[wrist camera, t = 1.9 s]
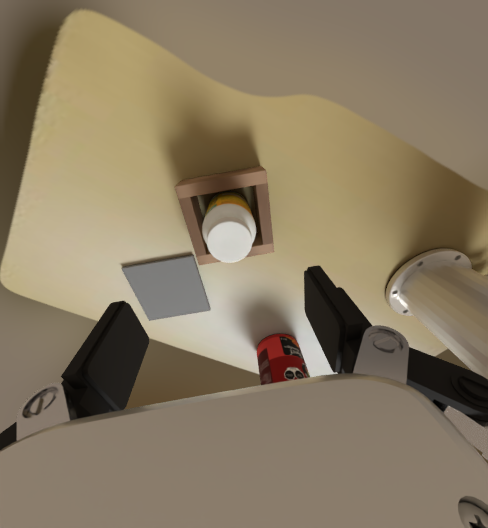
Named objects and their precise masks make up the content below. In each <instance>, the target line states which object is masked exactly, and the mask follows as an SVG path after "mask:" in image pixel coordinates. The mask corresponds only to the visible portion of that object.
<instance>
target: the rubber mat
mask: <svg viewBox="0 0 488 528" xmlns="http://www.w3.org/2000/svg"><path fill="white" fill-rule="evenodd" d="M122 271H123V272H124V274H125V276H126V278H127V280H128V282H129V284H130V286H131V287H132V289H133V291H134V293H135V295H136V297H137V299H138V301H139V302H140V304H141V306H142V308H143V310H144V312H145V314H146V315H147V317H148V319H149V321H150V320H156V319H162V318H168V317H174V316H180V315H186V314H192V313H198V312H204V311H210V306H209V302H208V299H207V296H206V293H205V290H204V287H203V284H202V280H201V277H200V274H199V271H198V268H197V265H196V262H195V258H194V255H189V256H183V257H177V258H171V259H165V260H160V261H154V262H148V263H142V264H137V265H131V266H125V267H122Z"/></svg>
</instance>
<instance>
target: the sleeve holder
mask: <svg viewBox="0 0 488 528" xmlns="http://www.w3.org/2000/svg"><path fill="white" fill-rule="evenodd" d="M248 186H253V191H254V199H255V206H256V214H257V222H258V229H259V232H258V233H256V236H255V239H254V242H253V243H252V247H251V250H250V252H249V253H248V254H247V256H246V257H250V256H255V255H261V254H267V253H273V252H274V245H273V235H272V224H271V214H270V204H269V193H268V183H267V173H266V170H265V169H264V168H263V167H261V166H258V167H253V168H247V169H242V170H236V171H230V172H225V173H219V174H214V175H208V176H203V177H197V178H192V179H186V180H182V181H181V182H180V183H178V184H177V185H176V186H175V189H176V193H177V196H178V199H179V202H180V205H181V209H182V212H183V215H184V218H185V221H186V225H187V228H188V231H189V234H190V238H191V241H192V244H193V247H194V250H195V254H196V257H197V260H198V263H199V265H203V264H209V263H215V262H220V260H218V259H216V258H215V257H213V256H212V254H211V253H210V252H209V250H208V247H207V244H206V242H205V240H204V238H203V233H202V226H203V221H204V220H203V217H202V213H201V209H200V205H199V202H198V198H197V195H203V194H209V193H214V192H220V191H225V190H231V189H236V188H242V187H248Z"/></svg>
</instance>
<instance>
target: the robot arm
mask: <svg viewBox="0 0 488 528" xmlns="http://www.w3.org/2000/svg"><path fill="white" fill-rule="evenodd" d="M304 294H305V313H306V316H307V318H308V320H309V322H310V324H311V326H312V328H313V331H314V333H315V335H316V337H317V339H318V341H319V343H320V345H321V347H322V350H323V352H324V354H325V356H326V358H327V360H328V362H329V364H330V366H331V369H332V370H333V372H334V373H335V372H337V373H338V374H332V375H322V376H316V377H309V378H303V379H296V380H290V381H284V382H278V383H272V384H266V385H260V386H255V387H249V388H243V389H237V390H232V391H226V392H220V393H214V394H208V395H204V396H197V397H192V398H186V399H181V400H175V401H169V402H164V403H158V404H153V405H147V406H142V407H137V408H131V409H125V410H124V408H125V407H126V405H127V402H128V400H129V397H130V394H131V391H132V388H133V386H134V383H135V380H136V377H137V374H138V372H139V369H140V366H141V363H142V361H143V358H144V355H145V352H146V349H147V347H148V344H149V337H148V335H147V333H146V332H145V330H144V328H143V327H142V325H141V323H140V321H139V320H138V318H137V316H136V315H135V313H134V311H133V309H132V308H131V306H130V304H129V303H126V302H125V301H119V302H113V303H111V304H110V305H109V306H108V308H107V309H106V311H105V312H104V314H103V315H102V317H101V318H100V320H99V321H98V323H97V324H96V326H95V327H94V329H93V330H92V331H91V333H90V335H89V336H88V338H87V339H86V340H85V342H84V343H83V345H82V346H81V348H80V349H79V351H78V352H77V354H76V355H75V357H74V358H73V360H72V361H71V362H70V364H69V365H68V367H67V368H66V370H65V372H64V373H63V374H62V376H61V377H62V378H63V379H64V380H63V382H62V383H61V384H60V383H52V384H49V385H46V386H44V387H42V388H41V389H39V390H38V391H36V392H35V393H34V394H32V395H31V396H30V397H29V398H28V399H27V400H26V401H25V403H24V404H23V405H22V406H21V408H20V410H19V412H18V414H17V422H15V423H14V424H13V425H11V426H10V427H9V428H7V429H6V430H5V431H3V432H2V433H1V434H0V528H488V464H487V463H486V461H485V460H484V459H483V458H482V456H483V457H484V458H486V459H487V460H488V275H482V274H480V273H478V272H476V271H474V270H473V269H472V265H471V261H470V260H469V258H468V257H467V256H466V255H464V254H463V253H461V252H458V251H456V250H453V249H435V250H431V251H428V252H425V253H422V254H420V255H418V256H416V257H414V258H413V259H411V260H409V261H408V262H407V263H405V264H404V265H403V266H402V267H401V268H400V269H399V270H398V271H397V272H396V273H395V274H394V275H393V277H392V278H391V280H390V282H389V284H388V286H387V289H386V300H387V303H388V304H389V306H390V307H391V308H392V309H393V310H394V311H396V312H397V313H399V314H402V315H407V316H415V317H416V318H417V319H418V320H419V321H420V322H421V323H422V324H423V325H424V326H425V327H426V328H427V329H429V330H430V331H431V332H432V333H433V334H434V335H435V336H436V337H437V338H438V339H439V340H440V341H441V342H442V343H443V344H445V345H446V346H447V347H448V348H449V349H450V350H451V351H452V352H453V353H454V354H455V355H456V356H457V357H458V358H459V359H460V360H462V361H463V362H464V363H465V364H466V365H467V366H468V367H469V368H470V369H471V370H472V371H470V370H467V369H465V368H462V367H460V366H457V365H454V364H452V363H449V362H447V361H444V360H441V359H439V358H436V357H434V356H431V355H428V354H426V353H423V352H420V351H418V350H415V349H413V348H410V347H409V344H408V342H407V340H406V338H405V337H404V336H403V335H402V334H401V333H399V332H398V331H396V330H394V329H392V328H389V327H386V326H372V325H371V323H370V322H369V321H368V320H367V318H366V317H365V316H364V315H363V313H362V312H361V311H360V310H359V308H358V307H357V306H356V305H355V303H354V302H353V301H352V300H351V298H350V297H349V296H348V295H347V293H346V292H345V291H344V290H343V289H342V288H340V287H339V288H336V286H335V285H334V284H333V282H332V281H331V280H330V279H329V277H328V276H327V275H326V273H325V272H324V271H323V269H322V268H321V267H320V266H313V267H308V269H307V270H306V271H305V272H304ZM471 444H472V445H474V446H475V447H476V448H477V449H479V450H480V451H482V452H483V455H482V456H481V455H480V454H479V453H478V452H477V450H476V449H475V448H474V447H473V446H472V445H471ZM458 503H459V504H458Z"/></svg>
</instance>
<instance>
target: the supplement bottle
mask: <svg viewBox="0 0 488 528" xmlns="http://www.w3.org/2000/svg"><path fill="white" fill-rule="evenodd" d="M202 233H203V238H204V240H205V242H206V244H207V247H208V250H209V252H210V253H211V254H212V256H213V257H215V258H216V259H218V260H220V261H222V262H227V263H232V262H237V261H240V260H241V259H243V258H244V257H246V256H247V254H248V253H249V252H250V250H251V247H252V243H253V242H254V239H255V236H256V225H255V221H254V218H253V216H252V213H251V210H250V207H249V205H248V203H247V201H246V200H245V198H244V197H243V196H241V195H240V194H238V193H236V192H233V191H225V192H221V193H219V194H217V195H216V196H214V197H213V198H212V199H211V201H210V203H209V205H208V208H207V211H206V215H205V218H204V221H203V226H202Z"/></svg>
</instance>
